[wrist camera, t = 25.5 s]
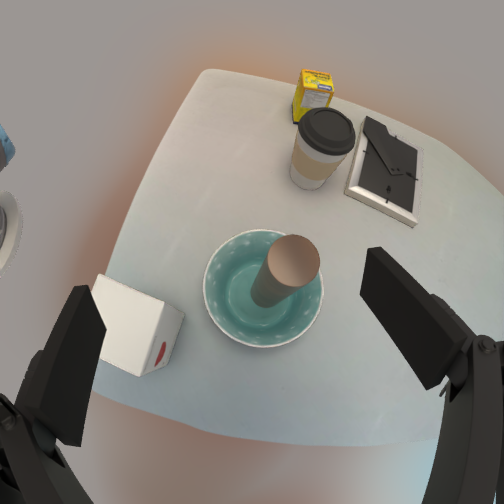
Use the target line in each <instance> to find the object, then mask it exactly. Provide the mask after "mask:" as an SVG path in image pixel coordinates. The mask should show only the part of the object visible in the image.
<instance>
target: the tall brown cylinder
mask: <svg viewBox="0 0 504 504" xmlns="http://www.w3.org/2000/svg"><path fill="white" fill-rule="evenodd" d="M319 267H320V258H319V254H318V251H317V249H316V248H315V246H314V245H313V244H312V243H311V242H310V241H309V240H308V239H306V238H304V237H302V236H299V235H285V236H282V237H280V238H278V239H277V240H276V241H275V242H274V243H273V244H272V245H271V247H270V249H269V251H268V253H267V255H266V257H265V259H264V261H263V263H262V266H261V268H260V270H259V272H258V274H257V276H256V278H255V280H254V282H253V284H252V287H251V291H250V293H251V298H252V300H253V301H254V303H255V304H256V305H258V306H260V307H262V308H270V307H273V306H275V305H277V304H278V303H280V302H281V301H283V300H284V299H286V298H287V297H289V296H290V295H292V294H293V293H295V292H296V291H298V290H299V289H301V288H302V287H304V286H305V285H307V284H308V283H310V282H311V281H312V280H313V279H314V278H315V277H316V275H317V273H318V271H319Z"/></svg>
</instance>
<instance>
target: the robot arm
mask: <svg viewBox="0 0 504 504" xmlns="http://www.w3.org/2000/svg"><path fill="white" fill-rule="evenodd" d="M14 154H15V147H14V145H13V144H12V142H11V141H10V139H9V138H8V136H7V134H6V133H5V131H4V129H3V128H2V126H1V125H0V172H1V171H2V169H3V168H4V167H6V166H7V165H8V162H9V161H10V160H11V159H12V157H13V156H14ZM6 229H7V217H6V213H5V210H4V209H3V208H2V207H1V206H0V249H1V247H2V245H3V242H4V239H5V235H6ZM360 296H361V297H362V298H363V300H364V301H365V302H366V304H367V305H368V307H369V308H370V309H371V311H372V312H373V313H374V315H375V316H376V318H377V319H378V320H379V322H380V323H381V324H382V326H383V327H384V329H385V330H386V332H387V333H388V334H389V336H390V337H391V339H392V340H393V341H394V343H395V344H396V346H397V347H398V349H399V350H400V352H401V353H402V355H403V356H404V357H405V359H406V360H407V362H408V363H409V365H410V366H411V368H412V369H413V371H414V372H415V374H416V375H417V377H418V378H419V380H420V382H421V383H422V385H423V386H424V388H425V389H426V391H427V390H429V389H431V388H433V387H435V386H437V385H439V384H440V383H441V382H442V380H443V378H444V377H445V375H447V377H448V378H449V381H448V382H447V384H446V385H445V387H444V388H443V390H442V391H441V392H440V395H439V396H440V397H442V395H443V394H444V392H445V391H446V396H445V404H444V411H443V418H442V424H441V430H440V435H439V440H438V445H437V450H436V455H435V459H434V463H433V467H432V471H431V475H430V478H429V482H428V485H427V488H426V492H425V495H424V498H423V501H422V504H493V501H494V497H495V492H496V504H504V341H499V342H495V341H494V340H493V339H492V338H490V337H488V336H486V335H478V336H476V335H475V334H474V332H473V331H472V330H471V329H470V328H469V327H468V326H467V325H466V323H465V322H464V321H463V320H462V319H461V318H460V317H459V316H458V315H457V314H455V312H454V311H453V309H452V308H451V309H450V306H449V305H448V304H447V303H446V302H445V301H444V300H443V299H441V298H440V297H438V296H436V295H435V294H429V293H428V292H427V291H426V290H425V289H424V288H423V287H422V286H421V285H420V284H419V283H418V282H417V281H416V280H415V279H414V278H413V277H412V276H411V275H410V274H409V273H408V272H407V271H406V270H405V269H404V268H403V267H402V266H401V265H400V264H399V263H398V262H397V261H395V260H394V259H393V258H392V257H391V256H390V255H389V254H388V253H387V252H386V251H385V250H384V249H383V248H382V247H374V248H368V249H367V256H366V262H365V268H364V274H363V279H362V285H361V290H360ZM106 331H107V328H106V326H105V324H104V322H103V320H102V317H101V315H100V313H99V311H98V308H97V306H96V304H95V301H94V299H93V297H92V294H91V292H90V289H89V287H88V285H82V286H74V288H73V290H72V292H71V293H70V295H69V297H68V299H67V301H66V303H65V305H64V307H63V309H62V311H61V313H60V315H59V317H58V319H57V322H56V323H55V325H54V328H53V330H52V332H51V334H50V336H49V339H48V341H47V343H46V345H45V348H44V350H39V351H38V352H37V353H36V354H35V356H34V357H33V358H32V359H31V362H30V364H29V367H28V371H26V374H25V379H23V382H22V384H21V387H20V390H19V392H18V395H17V398H16V401H15V404H14V405H13V404H12V403H11V402H10V401H9V400H8V398H7V397H6V396H5V395H3V394H1V393H0V504H94V503H93V502H92V501H91V499H90V498H89V496H88V495H87V493H86V492H85V490H84V489H83V487H82V486H81V485H80V483H79V481H78V480H77V478H76V477H75V475H74V473H73V472H72V470H71V468H70V467H69V465H68V463H67V462H66V460H65V458H64V456H63V454H62V453H61V451H60V449H59V448H58V447H57V445H56V444H55V443H56V438H57V439H59V440H60V441H61V442H62V443H63V444H64V445H70V446H76V447H81V442H82V435H83V429H84V424H85V418H86V412H87V408H88V403H89V398H90V393H91V389H92V385H93V380H94V376H95V372H96V368H97V364H98V360H99V356H100V353H101V349H102V345H103V342H104V338H105V335H106Z"/></svg>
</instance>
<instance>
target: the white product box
mask: <svg viewBox="0 0 504 504" xmlns="http://www.w3.org/2000/svg"><path fill="white" fill-rule="evenodd" d="M91 294H92V297H93V299H94V301H95V304H96V306H97V308H98V311H99V313H100V315H101V317H102V320H103V322H104V324H105V326H106V328H107V331H106V335H105V338H104V342H103V345H102V349H101V353H100V356H99V358H100V359H102V360H104V361H106V362H108V363H110V364H112V365H114V366H116V367H118V368H120V369H122V370H125V371H127V372H129V373H131V374H133V375H136V376H138V377H141V376H143V375H145V374H148V373H150V372H152V371H155V370H157V369H159V368H162V367H164V366H166V365H167V364H168V361H169V359H170V356H171V353H172V350H173V347H174V344H175V341H176V338H177V335H178V333H179V330H180V327H181V324H182V321H183V318H184V315H185V314H184V313H183V312H181V311H179V310H177V309H176V308H174V307H172V306H171V305H169V304H168V303H166V302H163V301H161V300H159V299H156V298H154V297H152V296H149V295H147V294H145V293H143V292H140V291H138V290H136V289H133V288H131V287H129V286H126V285H124V284H122V283H120V282H117V281H115V280H113V279H111V278H108V277H106V276H104V275H102V274H98V276H97V279H96V281H95V284H94V287H93V289H92V292H91Z"/></svg>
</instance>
